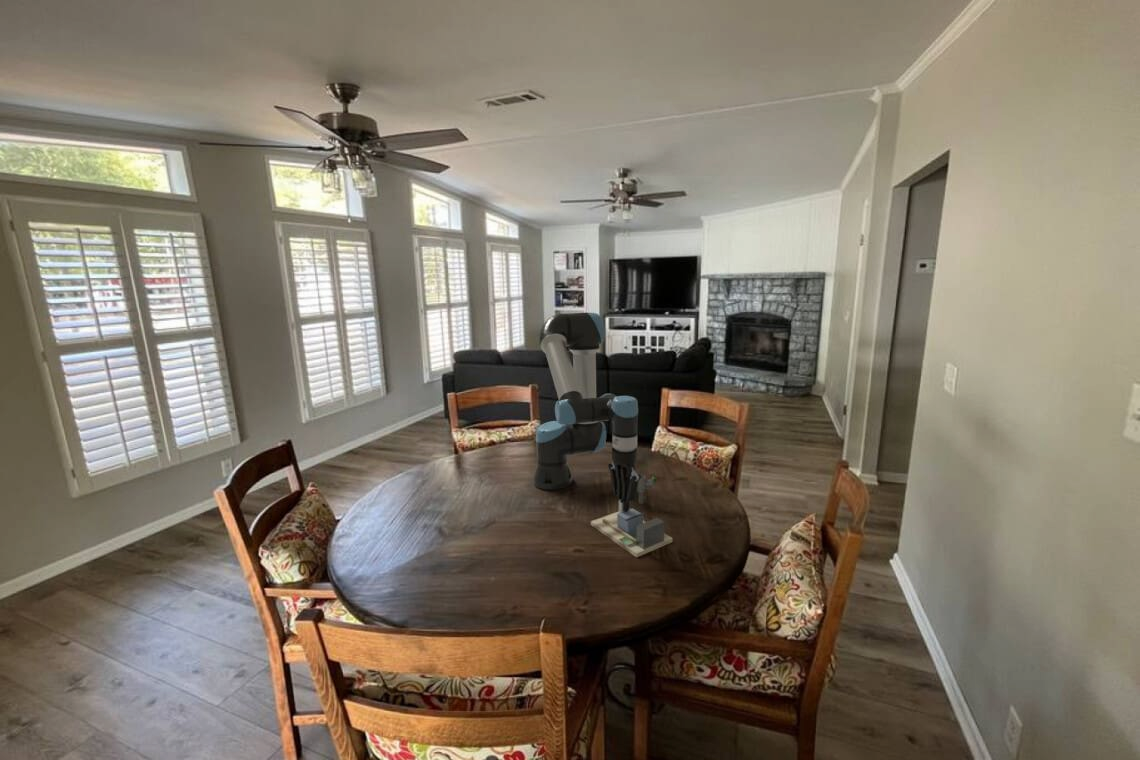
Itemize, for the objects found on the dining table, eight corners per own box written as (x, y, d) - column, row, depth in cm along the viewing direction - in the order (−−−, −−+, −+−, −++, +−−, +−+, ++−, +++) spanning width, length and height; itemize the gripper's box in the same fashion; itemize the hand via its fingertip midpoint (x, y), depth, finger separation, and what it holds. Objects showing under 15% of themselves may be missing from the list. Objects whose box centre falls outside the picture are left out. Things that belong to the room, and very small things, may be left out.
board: (590, 524, 150) (590, 518, 149) (624, 512, 157) (624, 506, 157) (636, 557, 132) (636, 550, 131) (672, 541, 139) (672, 535, 139)
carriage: (615, 529, 144) (615, 513, 143) (633, 522, 148) (633, 506, 147) (626, 536, 140) (626, 520, 139) (644, 529, 144) (644, 513, 143)
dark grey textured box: (636, 544, 136) (636, 525, 135) (656, 536, 140) (657, 517, 139) (643, 549, 134) (643, 530, 132) (663, 540, 138) (664, 521, 137)
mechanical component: (655, 506, 161) (656, 479, 159) (625, 503, 163) (625, 477, 161) (655, 502, 164) (656, 475, 162) (626, 500, 166) (626, 473, 164)
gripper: (601, 443, 145) (601, 513, 150) (628, 456, 134) (627, 531, 139) (620, 439, 149) (619, 507, 154) (648, 451, 138) (646, 524, 143)
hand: (623, 518), depth 146 cm, fingers closed
